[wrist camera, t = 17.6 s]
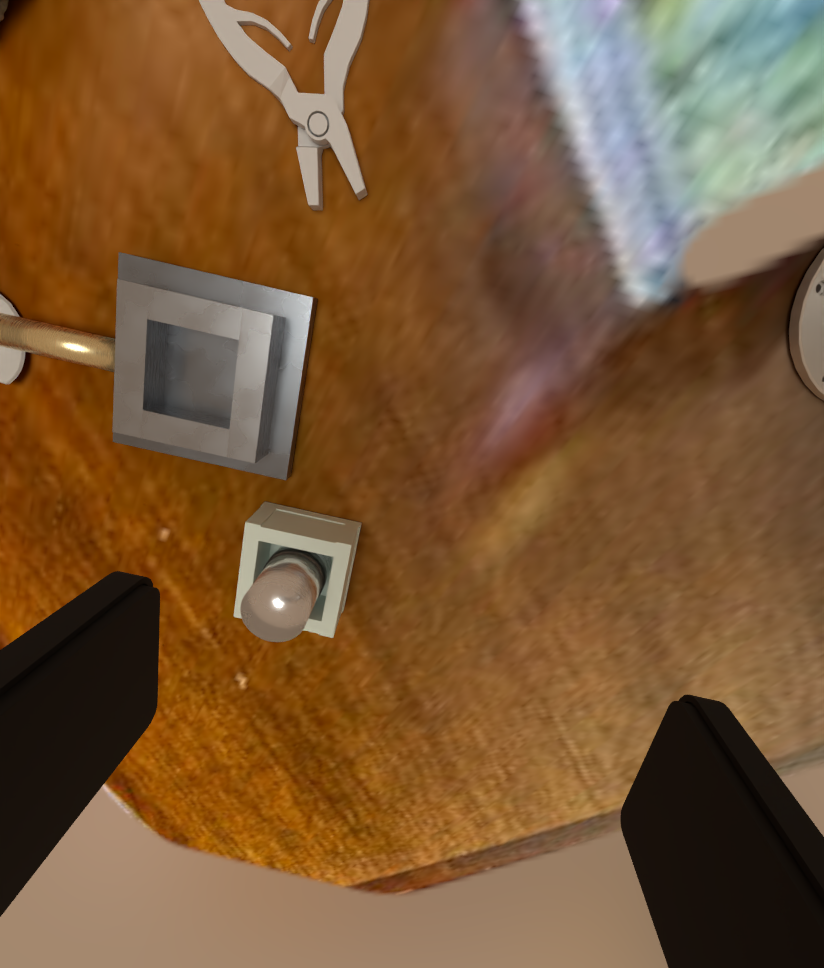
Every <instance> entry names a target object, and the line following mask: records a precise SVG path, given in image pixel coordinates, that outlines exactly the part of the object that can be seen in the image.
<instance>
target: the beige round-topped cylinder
mask: <svg viewBox="0 0 824 968" xmlns="http://www.w3.org/2000/svg"><path fill="white" fill-rule="evenodd" d="M330 567H331V556H327V555H322V554H318V553H313V552H309V551H304V550H299V549H295V548H290V547H286V546H280V547H279V549H278V550H277V551H276V552H275V553H274V554H273V555H272V556H271V557H270V559H269V560H268V561H267V563H266V564H265V566H264V568H263V571H262V572H261V574H260V575H259V576H258V578H257V579H256V580H255V582H254V583H253V584H252V586H251V587H250V589H249V590H248V591H247V593H246V594H245V595H244V597H243V599H242V602H241V606H240V612H241V617H242V620H243V622H244V624H245V625H246V627H247V628H248V629H249V630H250V631H251V632H252V633H253V634H254V635H256V636H257V637H259V638H261V639H264V640H267V641H271V642H284V641H288V640H291V639H293V638H295V637H296V636H298V635H299V634H300V633H301V632H302V631H303V629H304V627H305V625H306V623H307V621H308V618H309V616H310V614H311V611H312V609H313V607H314V605H315V602H316V600H317V598H318V597H319V596H320V594H321V592H322V590H323V588H324V585H325V583H326V579H327V575H328V573H329V570H330Z"/></svg>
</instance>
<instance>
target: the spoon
mask: <svg viewBox="0 0 824 968" xmlns="http://www.w3.org/2000/svg"><path fill="white" fill-rule="evenodd" d="M0 313H4V314H8V315H13V316H17V317H20V316H19V315H18V313H17V312H16V310H15V309H14V307H13V306H12V304H11V303H10V302H9V301H8V300H6V299H5V298H4V297H3V296H2V295H1V294H0ZM24 360H25V352H24V351H19V350H15V349H10V348H6V347H1V346H0V382H1V383H4V384H10V383H12V382H13V381H14V380H15V379H16V378H17V376H18V375H19V373H20V372H21V370H22V367H23V364H24Z"/></svg>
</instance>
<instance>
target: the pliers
mask: <svg viewBox="0 0 824 968" xmlns="http://www.w3.org/2000/svg"><path fill="white" fill-rule="evenodd" d="M199 2H200V4H201V6H202V8H203V10H204V12H205V14H206V16H207V18H208V20H209V22H210V23H211V25H212V27H213V28H214V30H215V32H216V33H217V35H218V37H219V38H220V40H221V42H222V43H223V45H224V46H225V47H226V49H227V50H228V51H229V53H230V54H231V56H232V57H233V58H234V60H235V61H236V62H237V63H238V65H239V66H240V67H241V68H242V69H243V70H244V71H245V72H246V73H247V74H248V75H249V76H250V77H251V78H252V79H254V80H255V81H256V82H258V83H259V84H261V85H262V86H264V87H265V88H266V89H268V90H269V91H271V92H272V93H273V95H274V96H275V97H276V98H277V99H278V100H279V101H280V102H281V103H282V104H283V106H284V107H285V109H286V111H287V114H288V116H289V118H290V119H291V121H292V122H293V123H294V124H296V125H297V126H298V147H296V149H297V154H298V158H299V163H300V168H301V173H302V177H303V182H304V187H305V191H306V196H307V201H308V205H309V206H310V207H311V208H312V210H323V192H322V152H323V149H326V148H329V147H331V148H332V149H333V151H334V152H335V154H336V156H337V158H338V160H339V162H340V164H341V166H342V168H343V170H344V172H345V174H346V176H347V178H348V179H349V181H350V183H351V185H352V187H353V189H354V191H355V193H356V195H357V197H358V199H359V200H360V199H362V198H363V197H365V196H367V195H368V194H367V191H366V187H365V184H364V180H363V177H362V173H361V170H360V166H359V163H358V159H357V156H356V152H355V149H354V145H353V142H352V138H351V135H350V132H349V129H348V127H347V124H346V122H345V120H344V118H343V116H342V115H343V114H344V88H345V84H346V80H347V76H348V72H349V67H350V65H351V63H352V61H353V59H354V56H355V54H356V52H357V50H358V48H359V46H360V43H361V41H362V37H363V33H364V29H365V25H366V21H367V15H368V7H369V0H343V6H342V9H341V11H340V14H339V17H338V20H337V23H336V26H335V28H334V31H333V33H332V36H331V38H330V41H329V43H328V46H327V48H326V51H325V53H324V81H325V94H310V93H298V91H297V89H296V87H295V85H294V83H293V81H292V79H291V77H290V75H289V73H288V71H287V69H286V68H285V66H283V65H282V64H281V63H279V62H278V61H277V60H276V59H274V58H273V57H272V56H270V55H269V54H268V53H267V52H265V51H264V50H263V49H262V48H261V47H259V46H258V45H257V44H256V43H255V42H254V41H252V40H251V39H250V38H249V37H248V36H247V35H246V33H245V32H244V31H243V29H242V28H241V27H240V26H239V25H255V26H257V27H260V28H262V29H265V30H267V31H269V32H270V33H271V34H272V35H273V36H274V37H276V38H277V39H278V40H279V41H280V42H281V43H282V44H283V45H284V46H285V47H286V48H287V49H288V51H290V50H291V49H292V46H291V44H290V43H289V41H288V40H287V39H286V38H285V37H284V36H283V35H282V33H281V32H280V31H279V30H278V29H276V28H275V27H274V26H273V25H272V24H271V23H270V22H269V21H267V20H265V19H263V18H261V17H259V16H257V15H255V14H253V13H250V12H245V11H240V10H236V9H234V8H232V7H230V6H228V5H226V3H225V1H224V0H199ZM331 2H332V0H320V1H319V3H318V5H317V8H316V11H315V14H314V17H313V20H312V24H311V29H310V34H309V41H310V42H311V43H315V40H316V35H317V31H318V27H319V25H320V22H321V19H322V16H323V14H324V12H325V10H326V9H327V7H328V6H329V4H330V3H331Z"/></svg>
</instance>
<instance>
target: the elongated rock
mask: <svg viewBox="0 0 824 968" xmlns="http://www.w3.org/2000/svg"><path fill="white" fill-rule="evenodd" d="M8 1H9V0H0V21H2V20H3V19H4V12H5V11H6V10H7V6H8Z"/></svg>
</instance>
